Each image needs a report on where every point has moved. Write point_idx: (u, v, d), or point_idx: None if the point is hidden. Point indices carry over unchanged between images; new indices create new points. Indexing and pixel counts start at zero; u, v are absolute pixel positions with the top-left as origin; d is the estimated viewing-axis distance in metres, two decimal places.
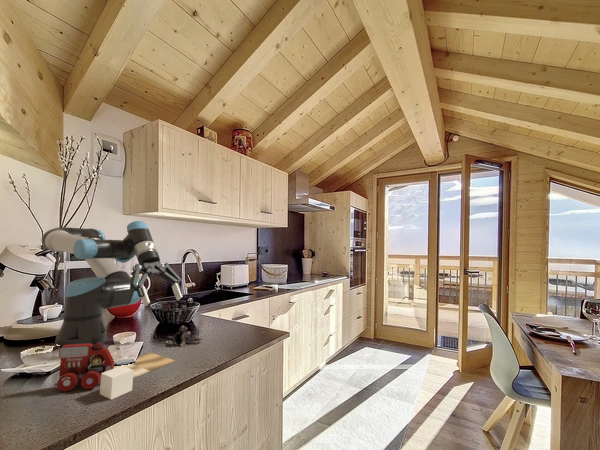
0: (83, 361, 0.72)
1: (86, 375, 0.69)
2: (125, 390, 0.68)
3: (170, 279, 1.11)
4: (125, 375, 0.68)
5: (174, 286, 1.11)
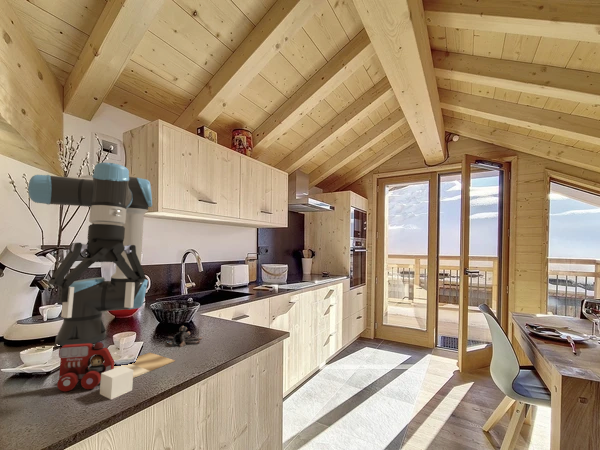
0: (83, 361, 0.72)
1: (86, 375, 0.69)
2: (125, 390, 0.68)
3: (127, 274, 0.72)
4: (124, 375, 0.68)
5: (129, 286, 0.72)
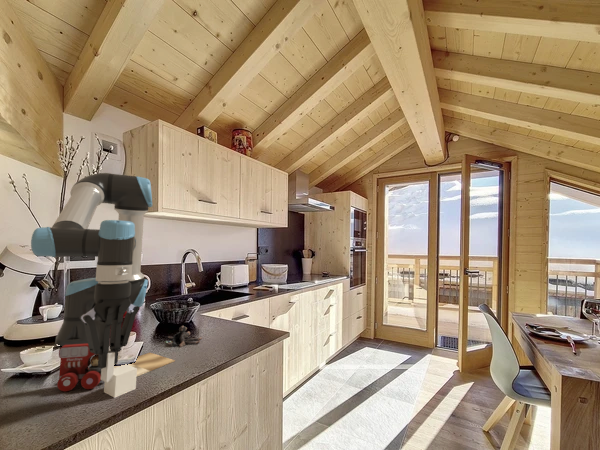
0: (83, 361, 0.72)
1: (86, 375, 0.69)
2: (129, 388, 0.69)
3: (113, 338, 0.68)
4: (128, 374, 0.69)
5: None
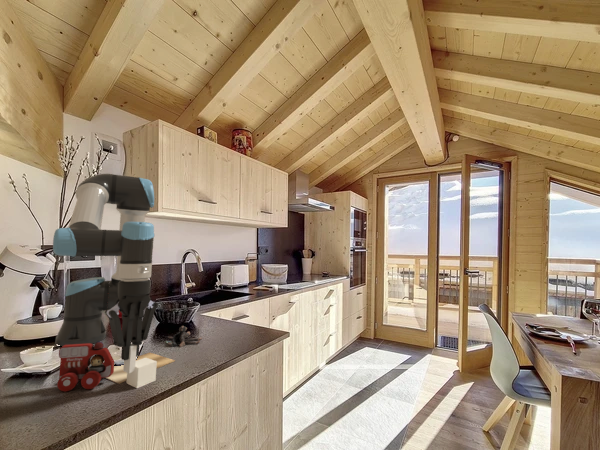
0: (83, 361, 0.72)
1: (86, 375, 0.69)
2: (149, 380, 0.73)
3: (135, 332, 0.73)
4: (149, 366, 0.73)
5: None
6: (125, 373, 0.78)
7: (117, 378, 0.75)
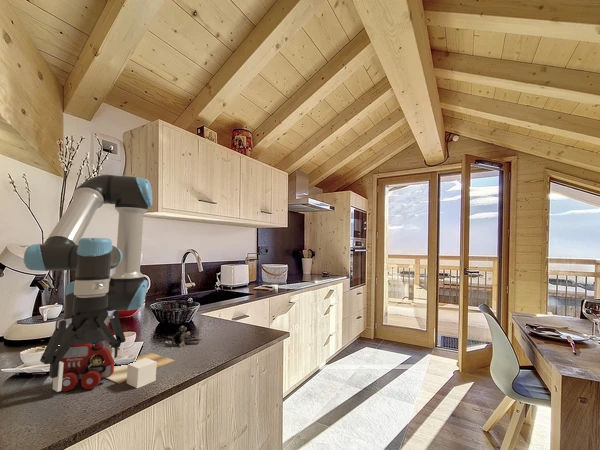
0: (83, 361, 0.72)
1: (86, 375, 0.69)
2: (149, 380, 0.73)
3: (108, 339, 0.77)
4: (149, 366, 0.73)
5: (109, 351, 0.77)
6: (125, 373, 0.78)
7: (117, 378, 0.75)
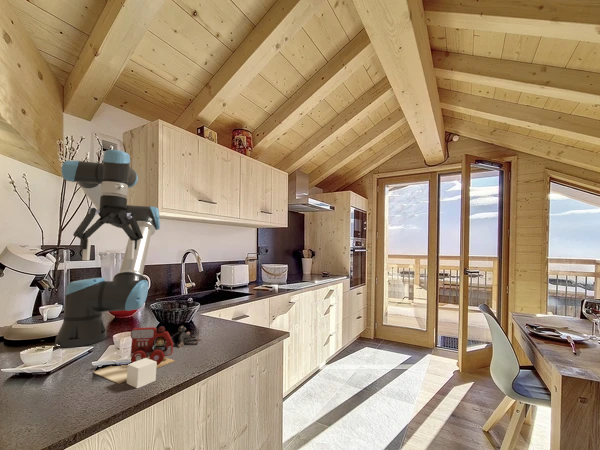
0: (149, 342, 0.86)
1: (153, 352, 0.84)
2: (149, 380, 0.73)
3: (129, 234, 0.96)
4: (149, 366, 0.73)
5: (130, 243, 0.97)
6: (125, 373, 0.78)
7: (117, 378, 0.75)
